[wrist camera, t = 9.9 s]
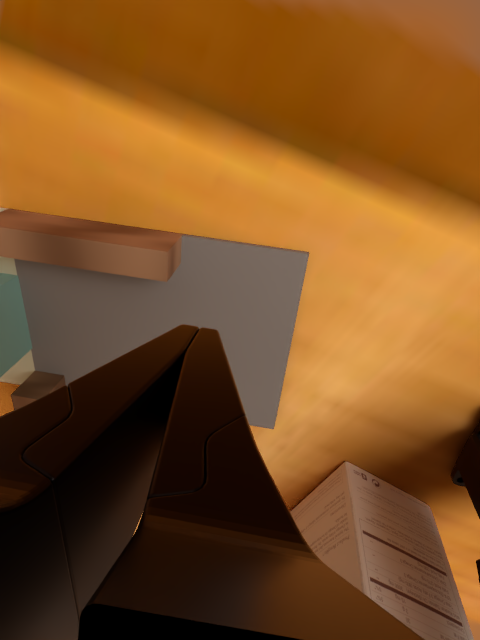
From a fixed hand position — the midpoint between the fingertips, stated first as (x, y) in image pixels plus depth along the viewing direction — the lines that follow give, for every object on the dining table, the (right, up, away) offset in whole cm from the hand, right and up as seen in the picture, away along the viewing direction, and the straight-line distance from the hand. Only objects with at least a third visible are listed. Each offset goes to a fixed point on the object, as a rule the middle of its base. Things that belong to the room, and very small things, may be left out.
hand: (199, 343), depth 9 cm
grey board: (-6, 0, +15) cm, 16 cm away
